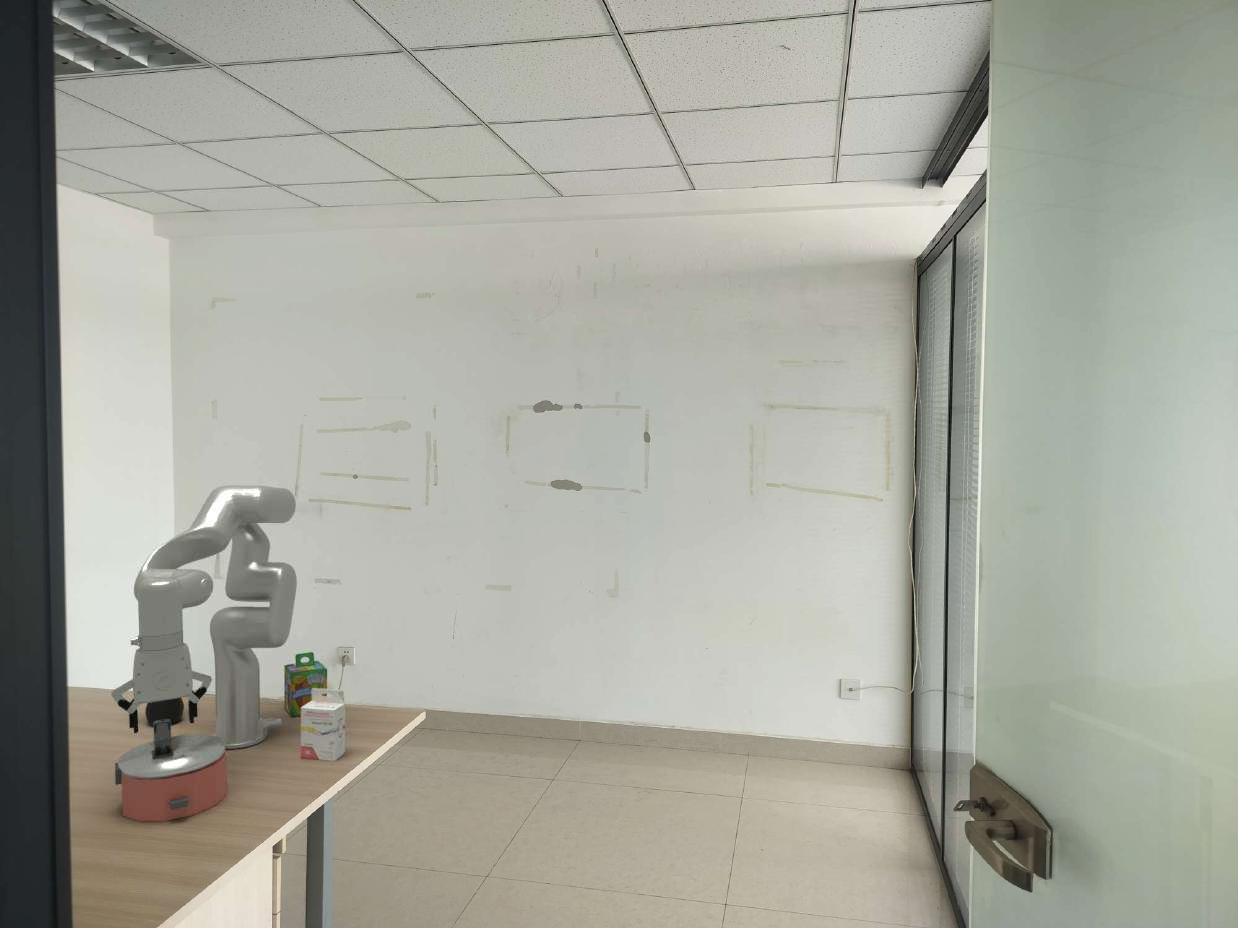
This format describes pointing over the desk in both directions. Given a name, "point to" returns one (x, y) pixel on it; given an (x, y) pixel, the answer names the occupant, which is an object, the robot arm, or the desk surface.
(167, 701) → the cola bottle
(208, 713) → the desk surface
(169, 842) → the desk surface
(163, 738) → the cylinder
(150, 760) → the lid
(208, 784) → the pot
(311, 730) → the ink cartridge box
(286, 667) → the chalk box
